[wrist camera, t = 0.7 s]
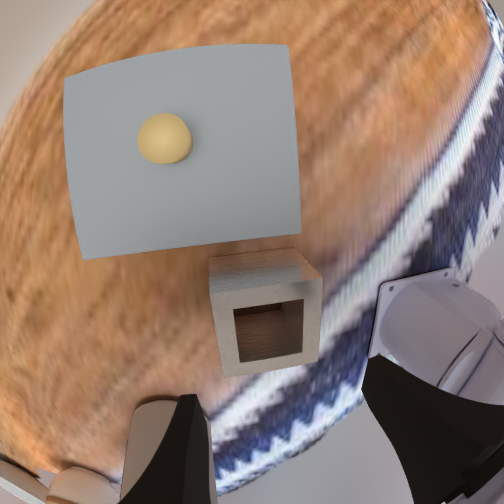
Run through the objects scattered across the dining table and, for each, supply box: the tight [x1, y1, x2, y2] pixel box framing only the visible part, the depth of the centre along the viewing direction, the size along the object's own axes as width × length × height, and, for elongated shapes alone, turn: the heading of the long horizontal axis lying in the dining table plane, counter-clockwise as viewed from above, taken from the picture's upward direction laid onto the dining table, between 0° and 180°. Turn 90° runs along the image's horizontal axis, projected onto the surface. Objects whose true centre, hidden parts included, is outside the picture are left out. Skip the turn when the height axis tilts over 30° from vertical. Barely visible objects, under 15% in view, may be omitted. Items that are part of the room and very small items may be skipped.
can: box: [120, 400, 218, 504], centre depth 16 cm, size 8×8×12 cm
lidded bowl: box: [45, 466, 120, 504], centre depth 21 cm, size 13×13×11 cm
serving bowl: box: [0, 460, 49, 504], centre depth 24 cm, size 21×21×7 cm
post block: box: [63, 44, 301, 260], centre depth 13 cm, size 14×12×5 cm
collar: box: [209, 247, 323, 378], centre depth 16 cm, size 6×6×5 cm
